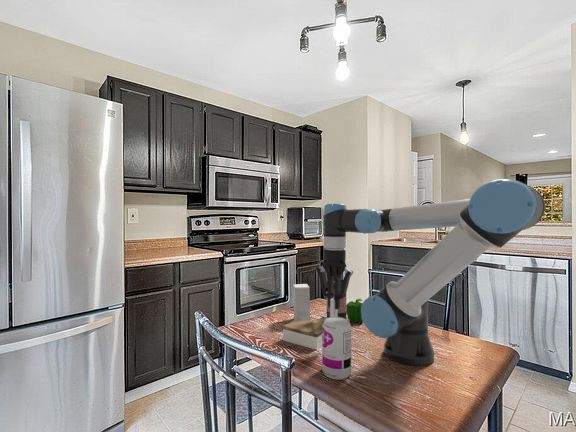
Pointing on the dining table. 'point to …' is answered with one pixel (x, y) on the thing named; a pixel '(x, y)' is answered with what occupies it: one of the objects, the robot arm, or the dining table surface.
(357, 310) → the bell pepper
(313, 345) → the keepsake box
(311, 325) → the lid
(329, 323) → the supplement can
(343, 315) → the travel mug
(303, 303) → the skincare box
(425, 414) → the dining table surface
